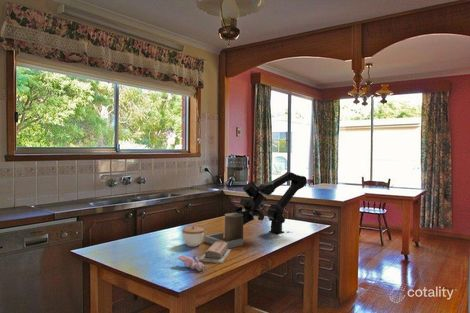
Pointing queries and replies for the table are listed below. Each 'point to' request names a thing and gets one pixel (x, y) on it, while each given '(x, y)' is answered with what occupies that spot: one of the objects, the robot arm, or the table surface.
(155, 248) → the table surface
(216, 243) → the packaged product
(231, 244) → the bay
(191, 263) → the rabbit figure
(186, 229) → the lidded jar
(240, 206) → the robot arm
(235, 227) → the pillar candle
